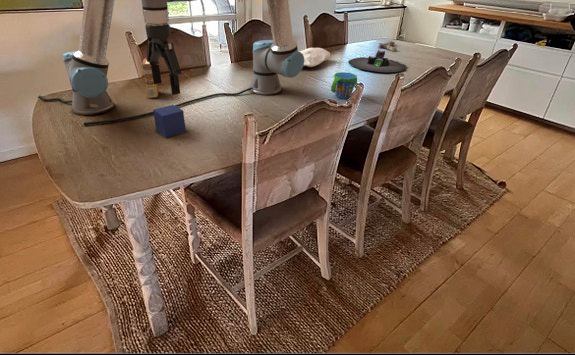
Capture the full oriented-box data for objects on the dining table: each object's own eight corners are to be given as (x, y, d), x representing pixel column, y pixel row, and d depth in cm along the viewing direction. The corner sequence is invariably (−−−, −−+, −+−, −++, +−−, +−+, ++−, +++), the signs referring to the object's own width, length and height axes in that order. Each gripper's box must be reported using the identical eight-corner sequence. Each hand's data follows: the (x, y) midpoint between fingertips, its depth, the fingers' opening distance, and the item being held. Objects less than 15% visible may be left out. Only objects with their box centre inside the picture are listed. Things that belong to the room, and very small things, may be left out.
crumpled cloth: (269, 61, 216) (271, 46, 210) (311, 52, 236) (313, 38, 230) (296, 77, 203) (298, 61, 198) (337, 66, 223) (341, 52, 218)
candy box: (157, 97, 164) (152, 63, 155) (147, 98, 163) (141, 63, 155) (158, 91, 171) (153, 57, 163) (149, 91, 170) (143, 58, 162)
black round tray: (418, 67, 219) (420, 52, 215) (377, 75, 202) (379, 59, 197) (375, 58, 244) (377, 43, 239) (336, 64, 226) (337, 49, 222)
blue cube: (165, 137, 131) (162, 116, 127) (156, 130, 136) (152, 109, 131) (186, 131, 136) (183, 110, 131) (176, 125, 140) (173, 104, 136)
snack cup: (348, 90, 181) (350, 70, 176) (362, 97, 174) (365, 76, 168) (323, 95, 174) (325, 74, 168) (337, 102, 166) (340, 80, 161)
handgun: (406, 44, 264) (388, 40, 272) (394, 47, 252) (376, 43, 260) (405, 48, 265) (387, 44, 273) (394, 52, 254) (375, 47, 262)
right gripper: (187, 29, 110) (194, 96, 122) (151, 16, 125) (160, 77, 137) (164, 31, 106) (174, 101, 117) (129, 18, 121) (140, 81, 132)
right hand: (166, 88), depth 127 cm, fingers open, 13 cm apart
